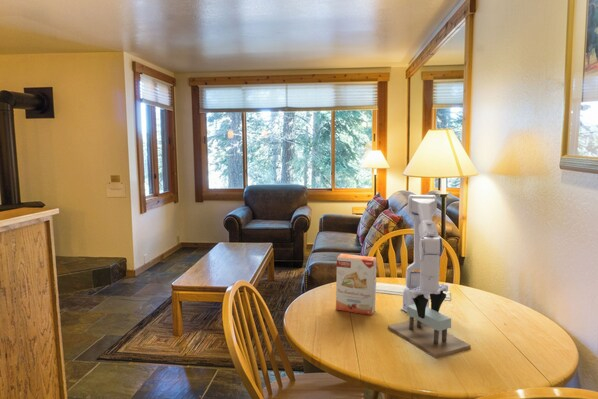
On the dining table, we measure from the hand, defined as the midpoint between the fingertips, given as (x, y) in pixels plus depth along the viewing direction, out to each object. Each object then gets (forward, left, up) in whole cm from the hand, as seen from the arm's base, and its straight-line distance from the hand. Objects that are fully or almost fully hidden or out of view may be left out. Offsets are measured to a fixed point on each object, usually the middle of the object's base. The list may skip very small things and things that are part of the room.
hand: (427, 315), depth 128 cm
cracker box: (-29, -8, -8) cm, 31 cm away
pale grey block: (0, 0, -2) cm, 2 cm away
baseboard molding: (-35, +24, -8) cm, 43 cm away
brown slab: (0, 0, -7) cm, 7 cm away
